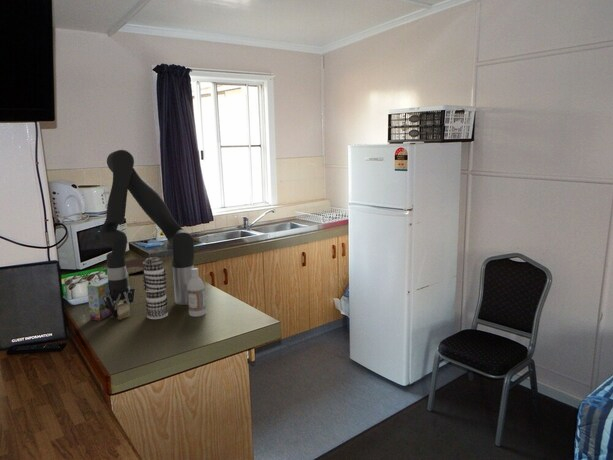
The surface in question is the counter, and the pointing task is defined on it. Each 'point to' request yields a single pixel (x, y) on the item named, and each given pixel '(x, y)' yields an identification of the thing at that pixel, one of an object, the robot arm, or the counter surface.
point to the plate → (135, 263)
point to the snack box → (99, 299)
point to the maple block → (123, 310)
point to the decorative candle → (155, 288)
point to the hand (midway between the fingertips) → (121, 315)
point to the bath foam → (196, 295)
